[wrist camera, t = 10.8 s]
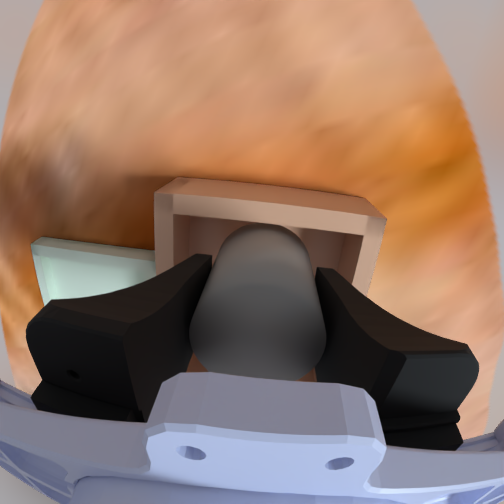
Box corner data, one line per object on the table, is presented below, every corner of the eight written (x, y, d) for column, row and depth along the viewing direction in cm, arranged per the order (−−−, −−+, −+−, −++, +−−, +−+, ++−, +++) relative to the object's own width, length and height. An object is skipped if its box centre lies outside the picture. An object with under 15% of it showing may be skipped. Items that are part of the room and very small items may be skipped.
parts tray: (175, 398, 21) (171, 410, 20) (77, 373, 21) (71, 383, 20) (164, 251, 16) (156, 261, 15) (41, 236, 16) (30, 243, 15)
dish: (321, 368, 19) (326, 406, 16) (180, 353, 19) (167, 389, 16) (365, 198, 14) (386, 218, 11) (177, 177, 14) (154, 192, 11)
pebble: (297, 313, 14) (304, 395, 10) (211, 297, 14) (186, 375, 10) (320, 232, 13) (345, 298, 8) (223, 213, 13) (194, 270, 8)
